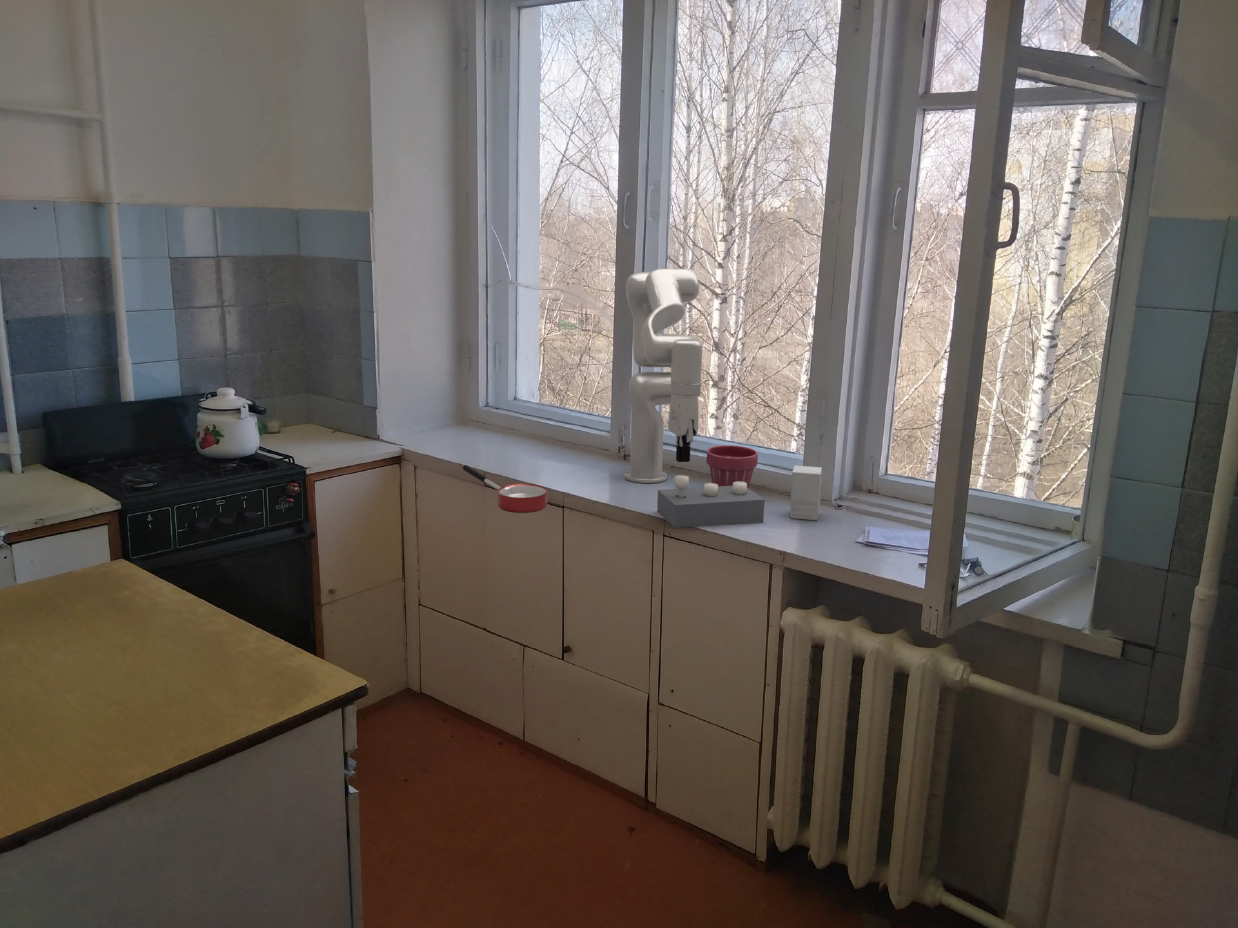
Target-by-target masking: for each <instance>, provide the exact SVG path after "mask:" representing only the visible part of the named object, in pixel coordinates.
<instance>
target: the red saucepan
mask: <svg viewBox="0 0 1238 928" xmlns="http://www.w3.org/2000/svg"><path fill="white" fill-rule="evenodd" d="M462 470H463V471H464V472H466V473H468V475H471V476H473V477H474V478H476V479H477V480H479V481H481V482H482V483H484V484H486V485H489V486H490V487H493V488H494V489H495V490H497V506H498V507H499V508H500V509H501V510H502V511H505V512H507V513H508V512H509V513H516V514H529V513H535V512H541V511H543V510H545V509H546V508H547V506H548V489H547V488H546V487H544V486H541V485H538V484H531V483H530V484H529V483H516V484H508V485H505V486H500V485H498V484H496V483H495V482H494V481H492V480H489V478H488V477H487V476H484V474H482V473H479V472H478V471H477V470H475V469H473V468H471V467H470V466H468V465H466V464H464V465H463V466H462Z"/></svg>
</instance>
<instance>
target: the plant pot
mask: <svg viewBox="0 0 1238 928" xmlns="http://www.w3.org/2000/svg"><path fill="white" fill-rule="evenodd" d="M758 457H759V453H758V451H757V450H755V449H753V448H750V447H747V446H742V445H733V444H732V445H726V444H725V445H715V446H711V447H708V449H707V450H706V461H705V462H706V464H707V465H708V467H709V471H710V479H711V483H715V484H717V485H718V486H733V482H738V481H740V482H745V483H747V488H748V489H750V484H751V481H752V476H753V472H754V470H755V468H756V467H757V466H758Z"/></svg>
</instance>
